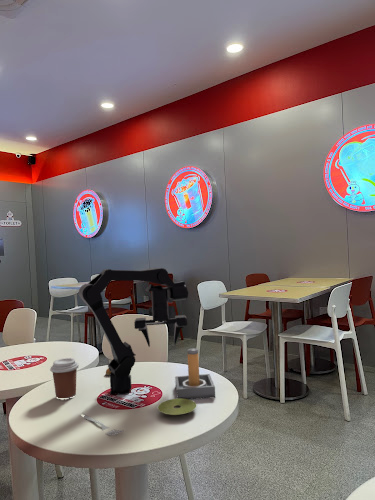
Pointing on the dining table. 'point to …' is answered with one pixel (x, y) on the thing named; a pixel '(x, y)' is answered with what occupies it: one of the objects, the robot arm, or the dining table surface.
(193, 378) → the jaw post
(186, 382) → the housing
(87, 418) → the fork
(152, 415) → the dining table surface
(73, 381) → the coffee cup
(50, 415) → the dining table surface
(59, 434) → the dining table surface
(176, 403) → the olive green flat disc
